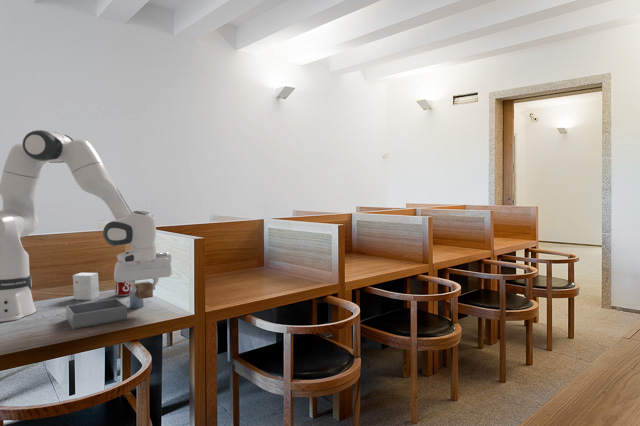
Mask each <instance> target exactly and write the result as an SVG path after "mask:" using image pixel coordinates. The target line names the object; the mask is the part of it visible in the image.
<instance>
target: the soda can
mask: <svg viewBox="0 0 640 426" xmlns="http://www.w3.org/2000/svg"><path fill="white" fill-rule="evenodd" d="M114 281H115V280H114ZM114 284H115V287H114V288H115V295H116V296H117V297H127V296H130V293H129V290H130V289H132V287H131V285H130V284H129V281H128V282H119V283H118V282H116V281H115V282H114Z"/></svg>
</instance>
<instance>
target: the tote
mask: <svg viewBox="0 0 640 426" xmlns="http://www.w3.org/2000/svg"><path fill="white" fill-rule="evenodd" d="M65 308H66V309H65V314H66V321H67V323H68V324H69V326H70V327H71V328H72V330H73V331H74V330H79V329H85V328H90V327H93V326H94V327H95V326H100V325H107V324H112V323H117V322H123V321H128V305H126V304H125V303H124V302H123V301H121V300H120V299H119V298H118V297H117V298H112V299H104V300H98V301H97V300H95V301H92V302H91V301H90V302H85V303H77V304H71V305H66V306H65Z"/></svg>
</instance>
